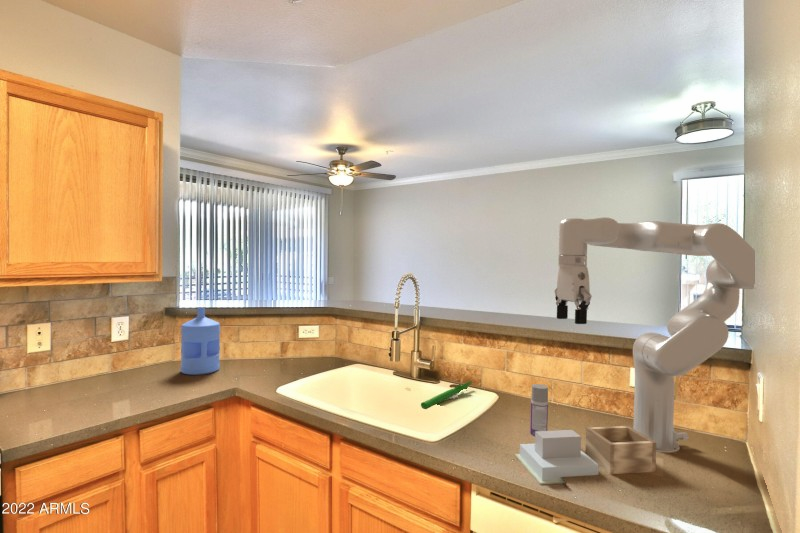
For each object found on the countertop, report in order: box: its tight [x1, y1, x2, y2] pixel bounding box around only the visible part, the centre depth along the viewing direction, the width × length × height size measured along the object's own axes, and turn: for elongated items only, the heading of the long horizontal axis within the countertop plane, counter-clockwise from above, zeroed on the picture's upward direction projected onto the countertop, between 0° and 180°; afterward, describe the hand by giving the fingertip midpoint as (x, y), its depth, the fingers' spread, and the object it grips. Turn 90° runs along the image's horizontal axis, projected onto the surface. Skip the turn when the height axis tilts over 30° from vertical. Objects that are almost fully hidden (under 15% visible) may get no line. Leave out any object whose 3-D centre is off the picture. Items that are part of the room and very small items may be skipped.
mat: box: [514, 453, 567, 485], centre depth 102 cm, size 16×14×1 cm
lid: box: [519, 429, 600, 480], centre depth 102 cm, size 14×12×8 cm
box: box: [584, 425, 657, 475], centre depth 103 cm, size 12×10×8 cm
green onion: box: [420, 380, 472, 410], centre depth 152 cm, size 5×3×30 cm
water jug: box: [180, 307, 221, 376], centre depth 182 cm, size 16×16×28 cm
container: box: [529, 383, 549, 437], centre depth 119 cm, size 5×5×15 cm
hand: (571, 321), depth 118 cm, fingers open, 9 cm apart
